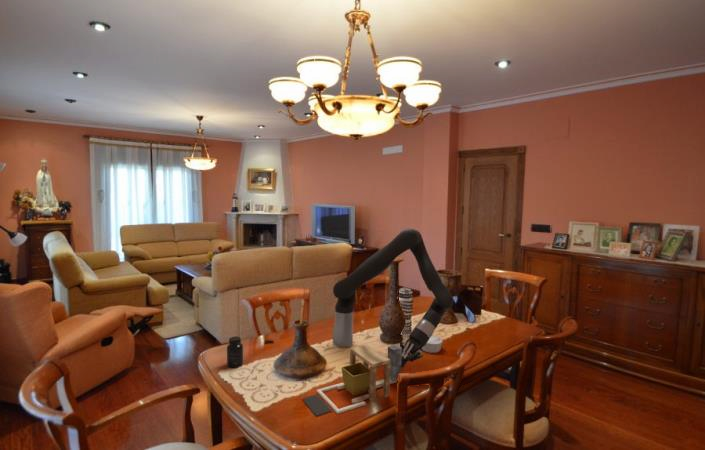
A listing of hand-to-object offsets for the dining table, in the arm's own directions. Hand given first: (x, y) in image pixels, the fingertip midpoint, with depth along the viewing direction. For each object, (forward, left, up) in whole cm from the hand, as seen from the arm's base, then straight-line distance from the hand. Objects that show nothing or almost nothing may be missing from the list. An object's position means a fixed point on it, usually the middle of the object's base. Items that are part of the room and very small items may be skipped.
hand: (398, 366), depth 153 cm
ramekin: (-1, +38, -6) cm, 38 cm away
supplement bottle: (-64, -30, -6) cm, 71 cm away
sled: (-5, -12, -5) cm, 14 cm away
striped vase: (-21, +49, -6) cm, 53 cm away
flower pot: (-9, -17, -6) cm, 21 cm away
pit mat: (-16, -34, -6) cm, 38 cm away
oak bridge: (-6, -13, -6) cm, 16 cm away
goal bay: (-12, -25, -6) cm, 28 cm away
